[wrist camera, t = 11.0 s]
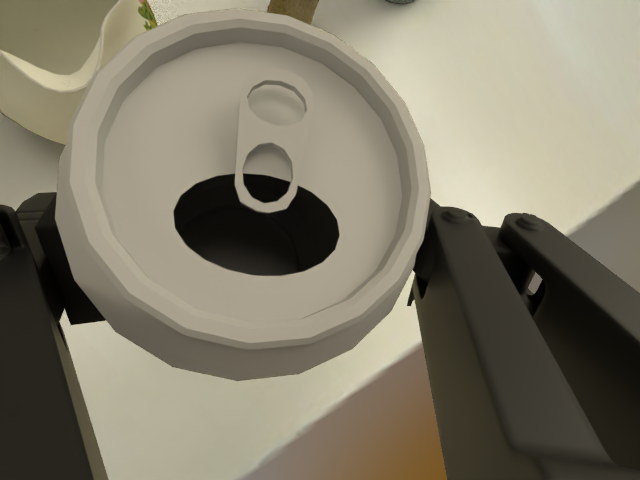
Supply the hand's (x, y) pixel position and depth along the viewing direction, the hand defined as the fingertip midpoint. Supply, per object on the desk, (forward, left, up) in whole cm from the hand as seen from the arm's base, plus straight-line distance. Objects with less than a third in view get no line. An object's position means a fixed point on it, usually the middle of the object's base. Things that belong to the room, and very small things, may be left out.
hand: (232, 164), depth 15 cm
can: (+3, -2, -4) cm, 5 cm away
